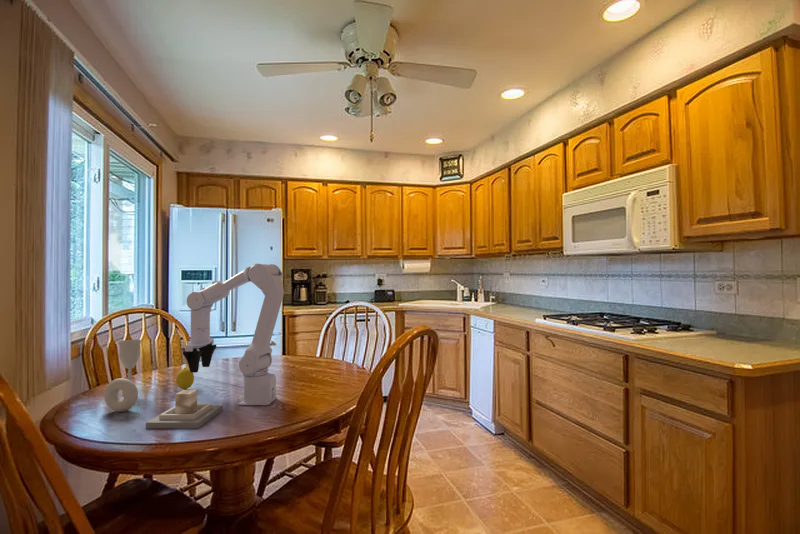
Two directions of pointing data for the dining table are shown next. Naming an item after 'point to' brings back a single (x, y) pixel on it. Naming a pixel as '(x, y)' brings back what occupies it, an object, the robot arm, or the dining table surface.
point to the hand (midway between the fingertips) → (200, 369)
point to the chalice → (129, 355)
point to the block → (186, 402)
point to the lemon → (184, 379)
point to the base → (185, 417)
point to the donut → (129, 392)
